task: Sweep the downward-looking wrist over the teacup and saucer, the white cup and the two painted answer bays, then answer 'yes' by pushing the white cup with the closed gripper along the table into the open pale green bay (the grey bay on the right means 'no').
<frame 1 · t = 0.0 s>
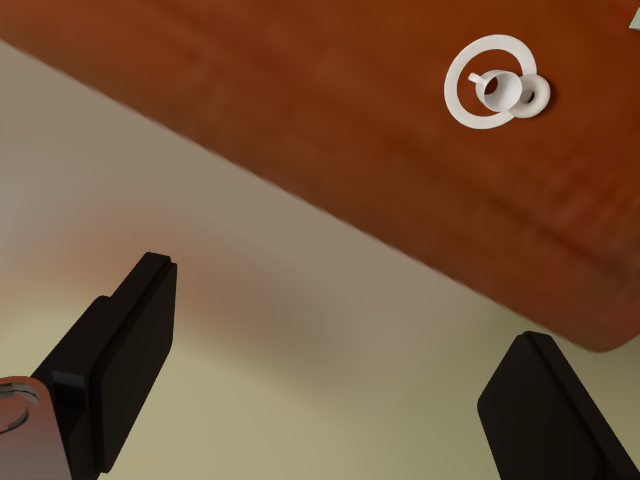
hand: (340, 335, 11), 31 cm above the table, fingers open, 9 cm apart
teacup and saucer: (488, 116, 39), on the table
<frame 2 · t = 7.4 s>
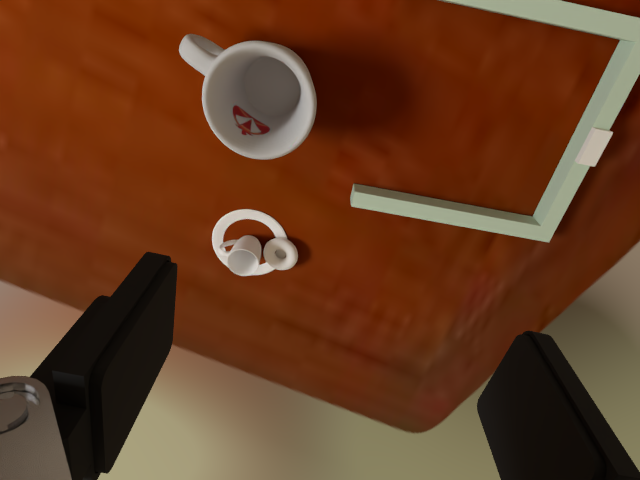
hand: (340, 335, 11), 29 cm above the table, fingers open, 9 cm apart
cup: (259, 74, 35), on the table
teacup and saucer: (260, 263, 46), on the table
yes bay: (474, 118, 36), on the table
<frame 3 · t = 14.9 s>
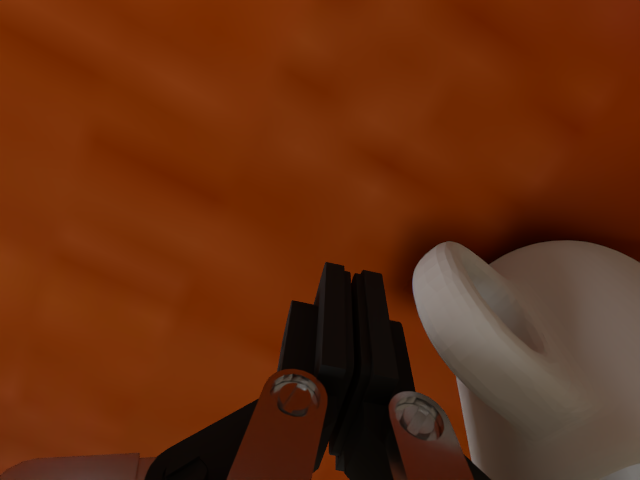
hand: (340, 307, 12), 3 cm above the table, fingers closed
cup: (507, 281, 15), on the table, touching gripper
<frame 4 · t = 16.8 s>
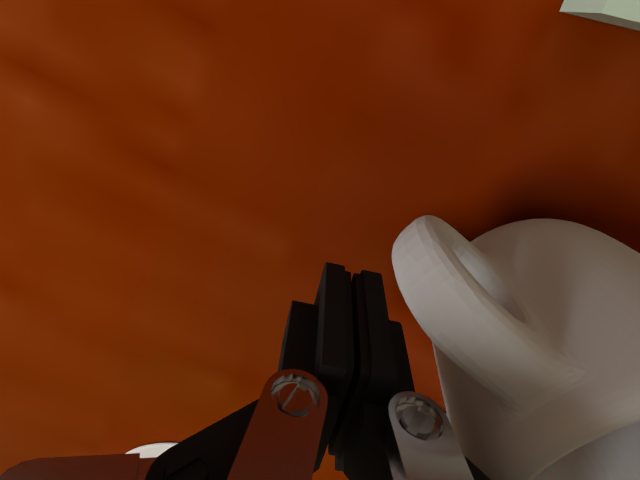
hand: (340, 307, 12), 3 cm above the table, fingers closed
cup: (485, 263, 15), on the table, touching gripper
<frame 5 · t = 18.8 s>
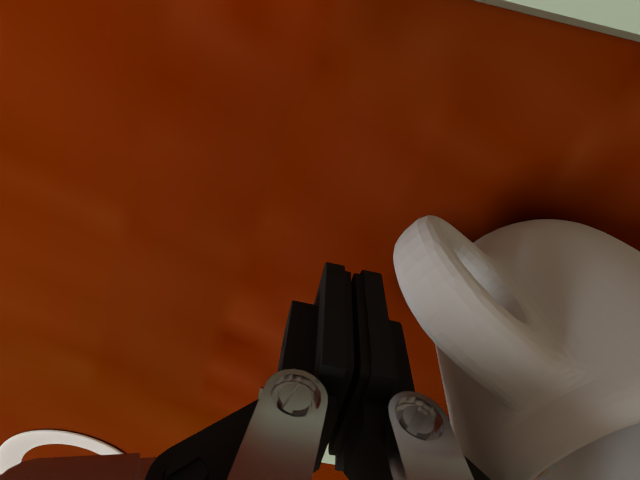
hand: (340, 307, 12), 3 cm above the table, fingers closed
cup: (489, 263, 15), on the table, touching gripper
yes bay: (532, 283, 15), on the table
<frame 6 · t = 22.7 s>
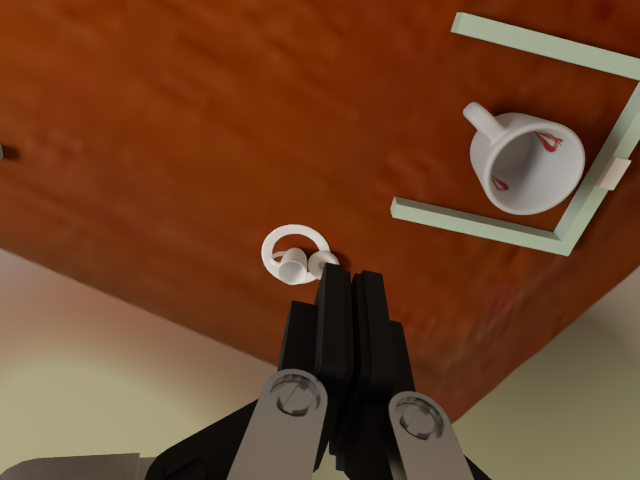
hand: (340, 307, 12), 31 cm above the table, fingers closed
cup: (491, 134, 41), on the table
teacup and saucer: (302, 273, 50), on the table
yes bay: (507, 143, 41), on the table
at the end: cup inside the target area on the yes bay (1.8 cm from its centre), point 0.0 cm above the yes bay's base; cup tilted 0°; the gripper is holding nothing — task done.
